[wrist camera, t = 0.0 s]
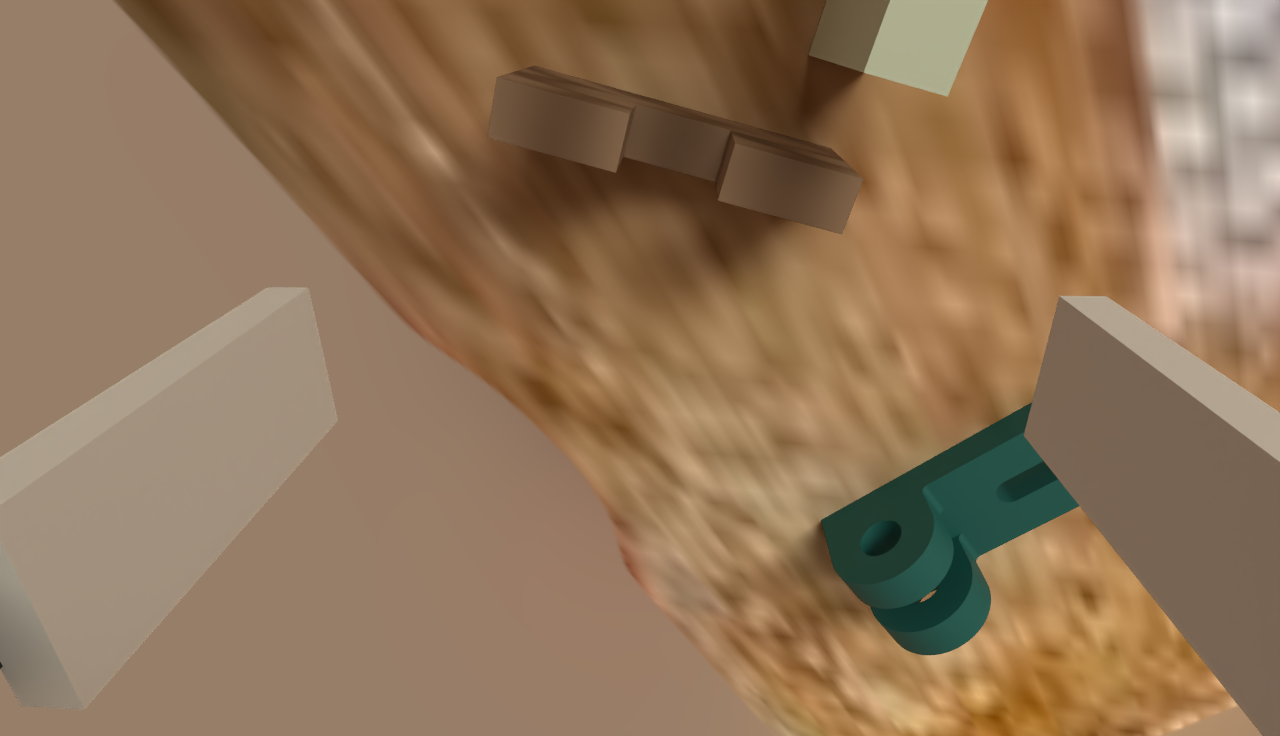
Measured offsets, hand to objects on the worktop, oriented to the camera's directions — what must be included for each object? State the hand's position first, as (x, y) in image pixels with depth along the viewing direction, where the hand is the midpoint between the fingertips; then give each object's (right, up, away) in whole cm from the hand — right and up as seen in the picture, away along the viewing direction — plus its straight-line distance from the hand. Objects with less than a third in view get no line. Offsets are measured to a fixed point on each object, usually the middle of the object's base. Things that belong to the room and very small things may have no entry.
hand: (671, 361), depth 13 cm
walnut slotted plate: (+1, +12, +25) cm, 28 cm away
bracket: (+21, -8, +34) cm, 40 cm away
